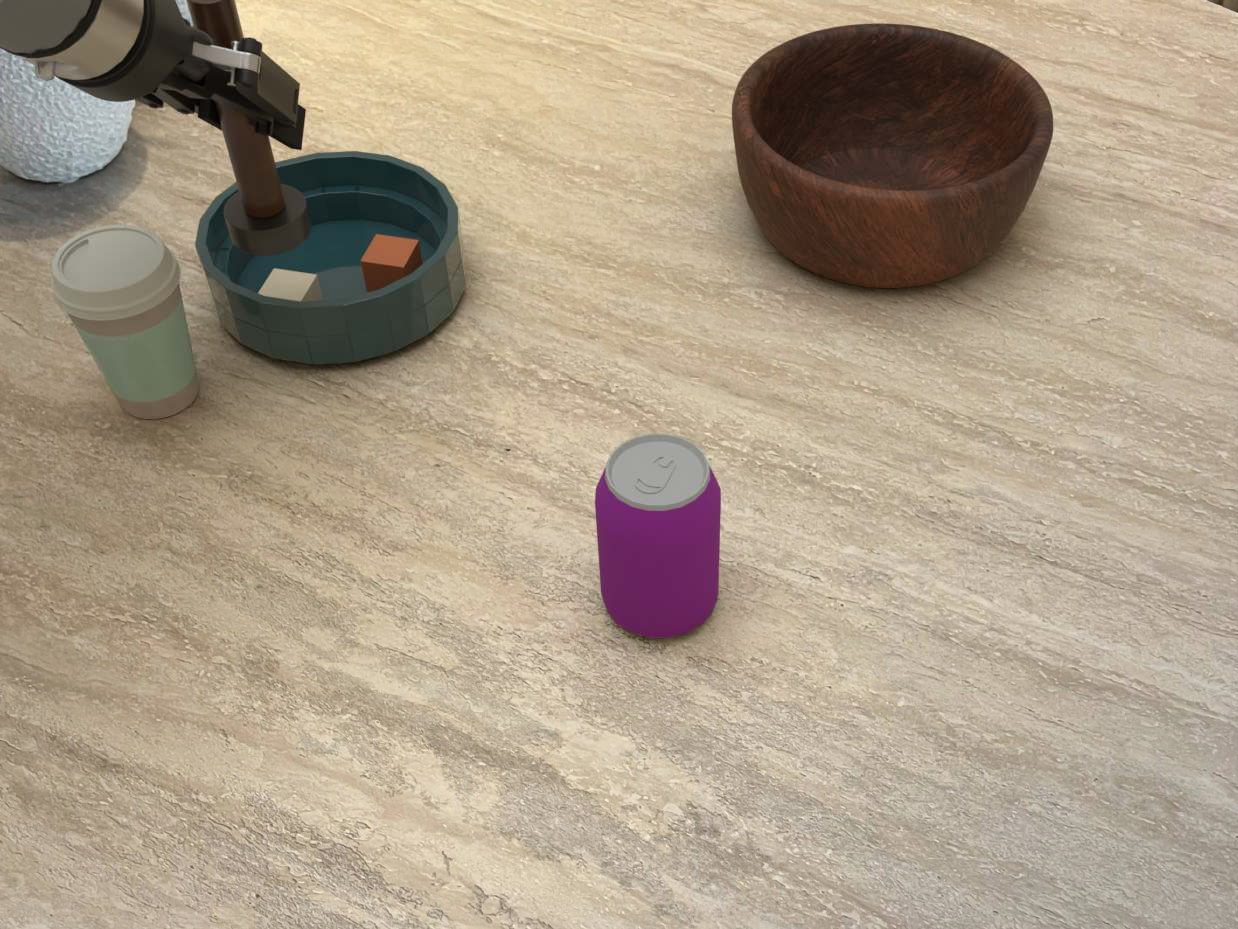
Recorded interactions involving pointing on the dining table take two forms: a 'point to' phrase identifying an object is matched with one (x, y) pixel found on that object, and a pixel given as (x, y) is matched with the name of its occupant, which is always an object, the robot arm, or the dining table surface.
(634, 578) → the beverage can
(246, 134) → the muddler
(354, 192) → the stir bowl
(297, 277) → the cream block
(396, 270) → the terracotta block
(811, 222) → the wooden bowl
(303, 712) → the dining table surface
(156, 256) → the coffee cup
